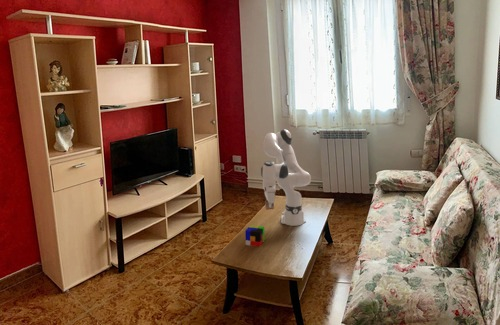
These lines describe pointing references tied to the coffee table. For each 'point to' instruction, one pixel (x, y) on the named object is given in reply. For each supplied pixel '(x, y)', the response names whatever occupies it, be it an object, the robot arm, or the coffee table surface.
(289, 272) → the coffee table surface
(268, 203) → the walnut block
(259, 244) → the puzzle toy
